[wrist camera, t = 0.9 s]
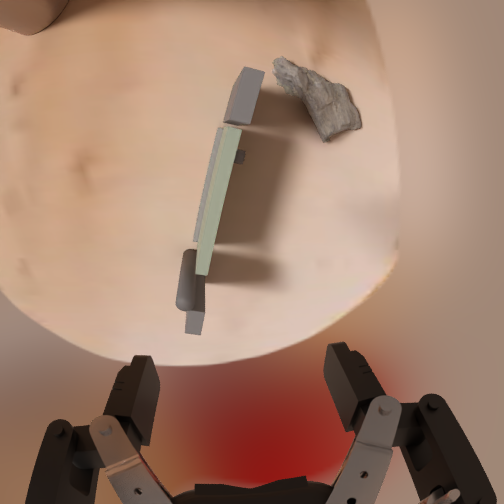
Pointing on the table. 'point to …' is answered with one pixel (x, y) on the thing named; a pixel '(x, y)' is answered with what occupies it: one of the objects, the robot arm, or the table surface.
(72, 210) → the table surface
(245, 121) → the door frame
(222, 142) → the door
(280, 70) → the stone
